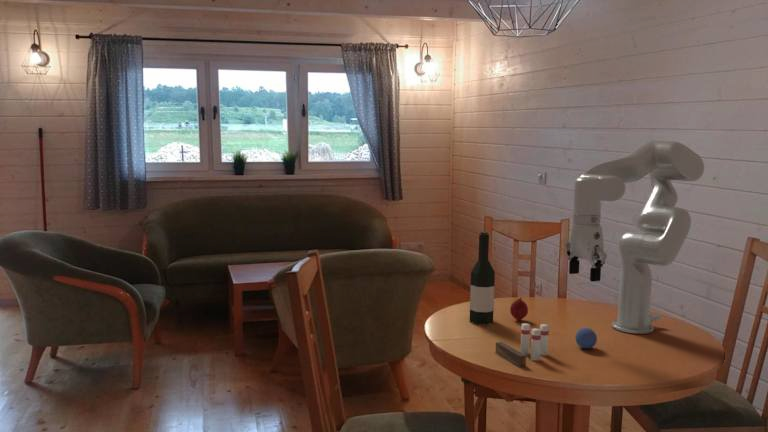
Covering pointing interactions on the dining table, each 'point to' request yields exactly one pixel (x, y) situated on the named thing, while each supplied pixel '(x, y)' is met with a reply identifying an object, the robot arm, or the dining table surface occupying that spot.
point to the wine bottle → (482, 285)
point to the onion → (519, 309)
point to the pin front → (544, 339)
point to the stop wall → (511, 354)
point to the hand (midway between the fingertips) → (584, 277)
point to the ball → (586, 338)
